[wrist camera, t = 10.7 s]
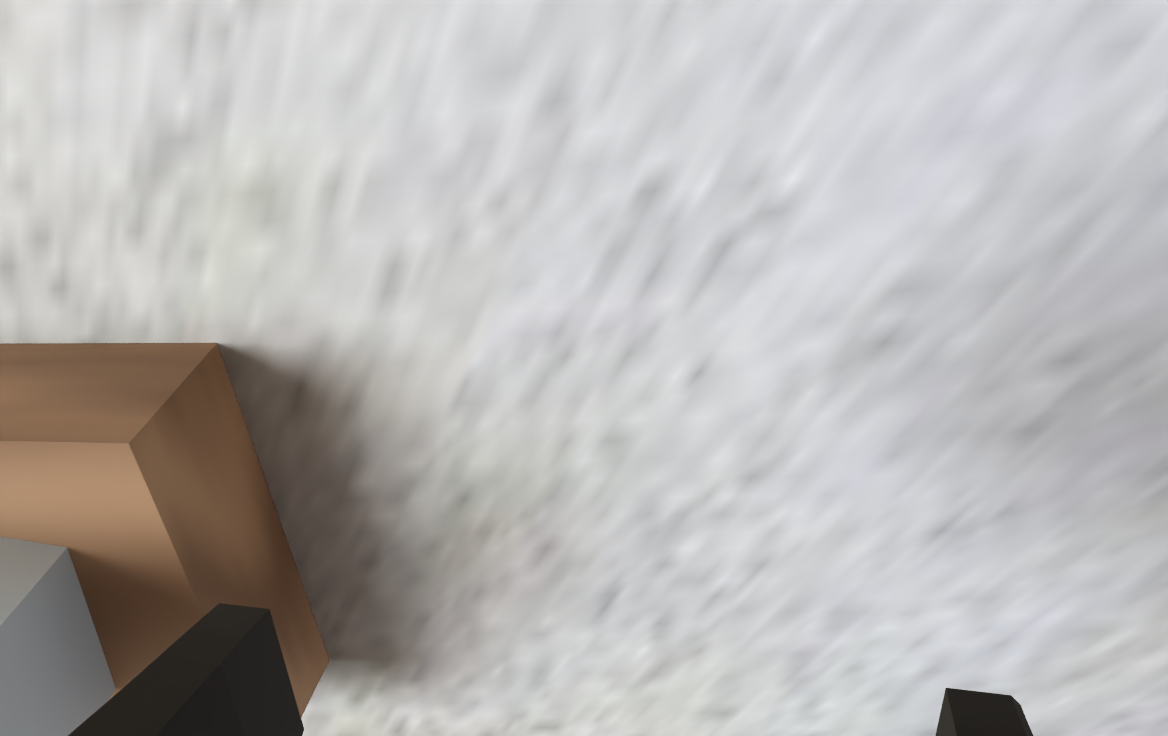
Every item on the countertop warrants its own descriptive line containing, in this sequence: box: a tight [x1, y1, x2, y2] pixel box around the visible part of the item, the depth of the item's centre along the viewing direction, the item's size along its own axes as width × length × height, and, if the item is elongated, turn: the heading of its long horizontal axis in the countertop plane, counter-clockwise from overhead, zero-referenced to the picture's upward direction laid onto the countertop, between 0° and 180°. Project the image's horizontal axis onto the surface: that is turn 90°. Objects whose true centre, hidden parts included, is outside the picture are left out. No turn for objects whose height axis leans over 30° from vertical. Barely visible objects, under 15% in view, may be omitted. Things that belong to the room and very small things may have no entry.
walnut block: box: [0, 343, 329, 717], centre depth 26 cm, size 10×10×4 cm
